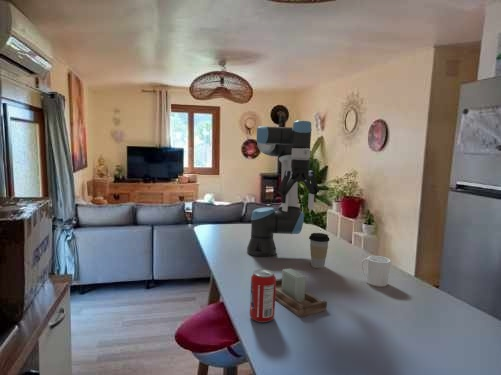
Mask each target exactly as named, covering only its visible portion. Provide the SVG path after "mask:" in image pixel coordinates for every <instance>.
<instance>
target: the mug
mask: <svg viewBox="0 0 501 375" xmlns="http://www.w3.org/2000/svg"><path fill="white" fill-rule="evenodd" d="M365 261H367V262H366V270H365V265H364V264H365ZM390 266H391V259H389V258H388V257H385V256H380V255H370V256H367V258H366V257H365V258H363V259H362V260H361V267H362V268H361V269H362V272H363V274H364V276H365V277H366V282H367V284H368V285H370V286H372V287H378V288H384V287H387V286H388V284H389V283H388V282H389V277H390V276H389V274H390V268H391V267H390Z"/></svg>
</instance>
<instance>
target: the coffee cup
mask: <svg viewBox="0 0 501 375" xmlns="http://www.w3.org/2000/svg"><path fill="white" fill-rule="evenodd" d="M308 239H309V241H310V245H309V247H310V248H309V249H310V259H311V260H310V261H311V262H310V263H311V267H312V268H315V269H324V268H325V266H326V258H327V255H328V254H327V253H328V250H329V249H328V248H329V241H330V237H329V235H328V234H327V233H322V232H312V233H311V234H310V235H309V238H308Z"/></svg>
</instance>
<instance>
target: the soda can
mask: <svg viewBox="0 0 501 375" xmlns="http://www.w3.org/2000/svg"><path fill="white" fill-rule="evenodd" d="M276 279H277V277H276V276H275V272H274V271H272V270H271V269H265V268H264V269H263V268H261V269H256V270H253V273H252V275H251V276H250V296H249V297H250V299H249V316H250V318H251V319H252V320H254V321H256V322H258V323H268V322H270V321H272V320H273V319H274V318H275V314H276V313H275V311H276V300H275V292H276Z"/></svg>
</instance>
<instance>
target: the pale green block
mask: <svg viewBox="0 0 501 375" xmlns="http://www.w3.org/2000/svg"><path fill="white" fill-rule="evenodd" d="M281 274H282V275H281V278H282V290H281V291H282V292H284V293H286V294H287V295H289V296H290V297H292V298H293V299H295V300H296V301H298V302H303V301H304V299H305V291H306V275H304V274H302V273H300V272H298V271H296V270H294V269H293V268H284V269H282V272H281Z"/></svg>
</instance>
